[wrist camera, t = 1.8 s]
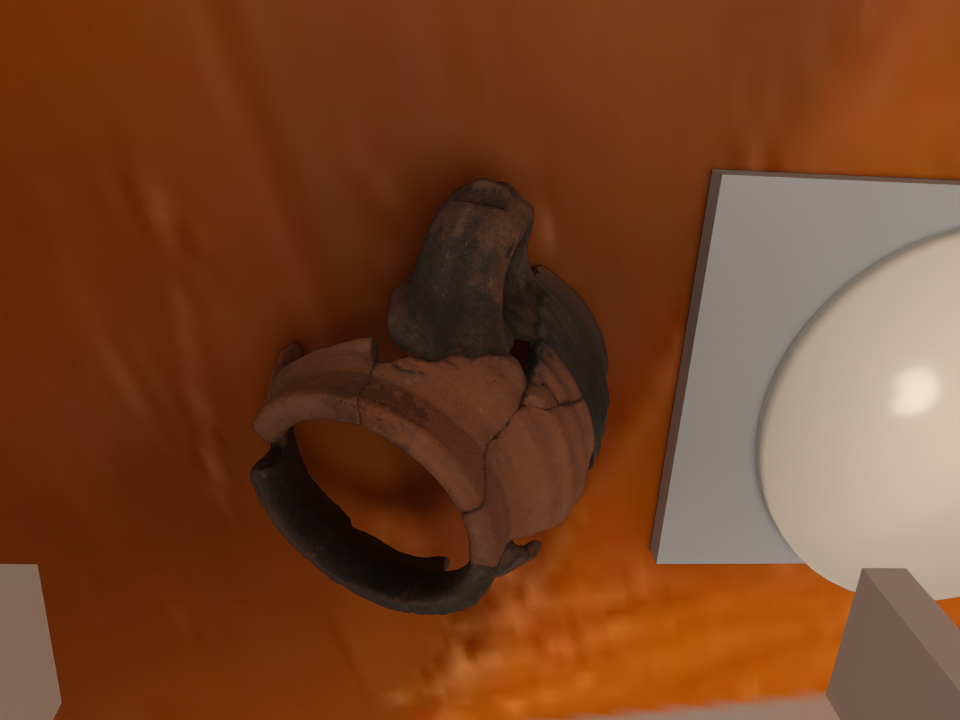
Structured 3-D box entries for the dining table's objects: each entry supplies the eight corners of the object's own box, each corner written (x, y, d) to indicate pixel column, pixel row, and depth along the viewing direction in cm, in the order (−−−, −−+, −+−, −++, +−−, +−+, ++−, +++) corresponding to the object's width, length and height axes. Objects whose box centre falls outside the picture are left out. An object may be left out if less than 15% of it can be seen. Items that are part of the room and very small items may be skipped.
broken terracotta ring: (607, 487, 28) (520, 690, 22) (363, 401, 31) (224, 561, 25) (687, 155, 21) (589, 320, 15) (358, 79, 24) (159, 192, 18)
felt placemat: (650, 549, 29) (656, 563, 28) (712, 169, 24) (722, 174, 23) (1078, 548, 30) (1095, 562, 30) (1221, 192, 25) (1246, 198, 25)
